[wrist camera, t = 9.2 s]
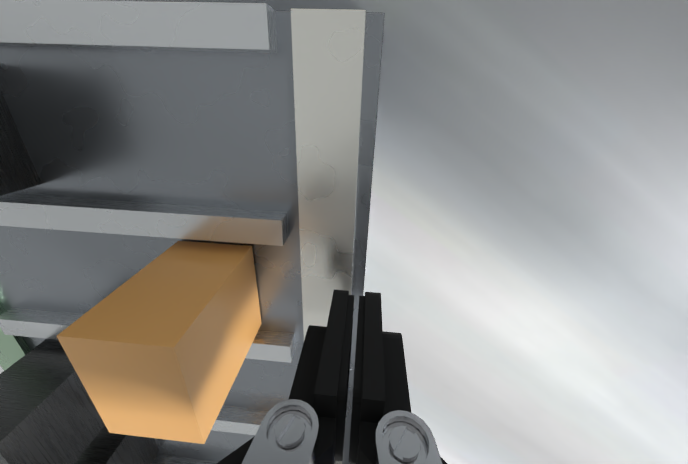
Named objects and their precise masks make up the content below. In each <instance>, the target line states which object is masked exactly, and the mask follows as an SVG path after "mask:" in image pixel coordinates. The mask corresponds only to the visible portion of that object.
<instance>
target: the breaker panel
mask: <svg viewBox="0 0 688 464" xmlns="http://www.w3.org/2000/svg"><path fill="white" fill-rule="evenodd" d="M383 26H384V13H369V12H366V10H352V9H295V8H291V11H275V10H274V9H273V8H271V7H270V6H269V5H268V4H267V3H227V2H167V1H106V0H0V365H1V367H2V368H3V369H4V372H2V373H1V374H0V464H216V463H218V462H219V461H221V460H222V459H223V458H225V457H226V456H228V455H229V454H230V453H232V452H233V451H235V450H236V449H237V448H239V447H240V446H242V445H243V444H244V443H246V442H247V441H249V440H250V439H251V438H253V437H254V436H255V435H256V433H257V431H258V429H259V427H260V425H261V422H262V420H263V419H264V417H265V416H266V414H267V413H268V411H269V410H270V409H271V408H273V407H274V406H275V405H276V404H278V403H280V402H282V401H285V400H288V399H289V395H290V392H291V388H292V384H293V381H294V377H295V373H296V369H297V366H298V362H299V358H300V355H301V351H302V347H303V344H304V340H305V336H306V332H307V329H308V326H309V325H313V326H324V327H327V323H328V317H329V312H330V307H331V302H332V296H333V291H334V289H335V290H347V291H349V295H354V312H353V329H352V346H351V361H350V373H349V386H348V398H347V411H346V423H345V436H344V448H343V460H342V461H335V464H350V462H349V446H350V430H351V414H352V398H353V383H354V367H355V351H356V337H357V322H358V307H359V296H363V290H364V276H365V263H366V250H367V237H368V224H369V211H370V198H371V184H372V171H373V158H374V145H375V132H376V119H377V105H378V92H379V79H380V66H381V53H382V40H383ZM177 241H190V242H204V243H218V244H231V245H245V246H252V250H253V258H254V266H255V274H256V282H257V290H258V298H259V306H260V314H261V323H262V324H261V326H260V328H259V330H258V332H257V334H256V336H255V338H254V341H253V343H252V345H251V347H250V349H249V351H248V353H247V355H246V357H245V360H244V362H243V364H242V366H241V368H240V370H239V372H238V374H237V376H236V379H235V381H234V383H233V385H232V387H231V389H230V391H229V393H228V395H227V397H226V400H225V402H224V404H223V406H222V408H221V410H220V412H219V414H218V416H217V419H216V421H215V423H214V425H213V427H212V429H211V431H210V433H209V435H208V437H207V440H206V442H205V444H199V443H190V442H182V441H174V440H165V439H157V438H149V437H140V436H132V435H123V434H115V433H109V431H108V429H107V427H106V426H105V424H104V422H103V420H102V418H101V417H100V415H99V413H98V411H97V409H96V407H95V406H94V404H93V402H92V400H91V398H90V397H89V395H88V393H87V391H86V389H85V387H84V386H83V384H82V382H81V380H80V378H79V377H78V375H77V373H76V371H75V369H74V367H73V366H72V364H71V362H70V360H69V358H68V356H67V355H66V353H65V351H64V349H63V347H62V346H61V344H60V342H59V340H58V338H57V335H58V334H59V333H61V332H62V331H63V330H65V329H66V328H67V327H68V326H70V325H71V324H72V323H73V322H75V321H76V320H77V319H79V318H80V317H81V316H82V315H84V314H85V313H86V312H88V311H89V310H90V309H91V308H93V307H94V306H95V305H97V304H98V303H99V302H100V301H102V300H103V299H104V298H106V297H107V296H108V295H109V294H111V293H112V292H113V291H115V290H116V289H117V288H118V287H120V286H121V285H122V284H124V283H125V282H126V281H127V280H129V279H130V278H131V277H132V276H134V275H135V274H136V273H138V272H139V271H140V270H141V269H143V268H144V267H145V266H147V265H148V264H149V263H150V262H152V261H153V260H154V259H156V258H157V257H158V256H159V255H161V254H162V253H163V252H165V251H166V250H167V249H168V248H170V247H171V246H172V245H174V244H175V243H176V242H177Z"/></svg>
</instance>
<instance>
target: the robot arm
mask: <svg viewBox="0 0 688 464" xmlns="http://www.w3.org/2000/svg"><path fill="white" fill-rule="evenodd" d="M353 312H354V295H349V291H347V290H335V289H334V291H333V296H332V302H331V307H330V312H329V317H328V323H327V327H324V326H313V325H309V326H308V329H307V332H306V336H305V340H304V344H303V347H302V351H301V355H300V358H299V362H298V366H297V369H296V373H295V377H294V381H293V384H292V388H291V392H290V395H289V399H288V400H285V401H282V402H280V403H278V404H276V405H275V406H274V407H273V408H271V409H270V410H269V411H268V413H267V414H266V416H265V417H264V419H263V420H262V422H261V425H260V427H259V429H258V431H257V433H256V435H255V436H254V437H253V438H251V439H250V440H249V441H247V442H246V443H244V444H243V445H242V446H240V447H239V448H237V449H236V450H235V451H233V452H232V453H230V454H229V455H228V456H226V457H225V458H223V459H222V460H221V461H219V462H218V463H216V464H335V461H342V460H343V448H344V436H345V423H346V411H347V398H348V386H349V373H350V361H351V346H352V329H353ZM349 462H351V463H356V464H447V463H446V462H445V461H444V460H443V459H442V458H441V457H440V454H439V451H438V448H437V445H436V442H435V439H434V436H433V434H432V432H431V430H430V428H429V427H428V426H427V424H426V423H425V422H424V421H423V420H422V419H421V418H419V417H418V416H417V415H415V414H413V413H411V407H410V399H409V390H408V382H407V374H406V366H405V357H404V349H403V341H402V335H401V333H393V332H382V312H381V293H373V292H365V296H359V307H358V322H357V337H356V351H355V367H354V383H353V398H352V414H351V430H350V446H349Z"/></svg>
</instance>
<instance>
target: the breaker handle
mask: <svg viewBox="0 0 688 464" xmlns="http://www.w3.org/2000/svg"><path fill="white" fill-rule="evenodd" d="M261 324H262V323H261V314H260V306H259V298H258V290H257V282H256V274H255V266H254V258H253V250H252V246H245V245H231V244H218V243H204V242H190V241H177V242H176V243H175V244H174V245H172V246H171V247H170V248H168V249H167V250H166V251H165V252H163V253H162V254H161V255H159V256H158V257H157V258H156V259H154V260H153V261H152V262H150V263H149V264H148V265H147V266H145V267H144V268H143V269H141V270H140V271H139V272H138V273H136V274H135V275H134V276H132V277H131V278H130V279H129V280H127V281H126V282H125V283H124V284H122V285H121V286H120V287H118V288H117V289H116V290H115V291H113V292H112V293H111V294H109V295H108V296H107V297H106V298H104V299H103V300H102V301H100V302H99V303H98V304H97V305H95V306H94V307H93V308H91V309H90V310H89V311H88V312H86V313H85V314H84V315H82V316H81V317H80V318H79V319H77V320H76V321H75V322H73V323H72V324H71V325H70V326H68V327H67V328H66V329H65V330H63V331H62V332H61V333H59V334H58V335H57V338H58V340H59V342H60V344H61V346H62V347H63V349H64V351H65V353H66V355H67V356H68V358H69V360H70V362H71V364H72V366H73V367H74V369H75V371H76V373H77V375H78V377H79V378H80V380H81V382H82V384H83V386H84V387H85V389H86V391H87V393H88V395H89V397H90V398H91V400H92V402H93V404H94V406H95V407H96V409H97V411H98V413H99V415H100V417H101V418H102V420H103V422H104V424H105V426H106V427H107V429H108V431H109V433H115V434H123V435H132V436H140V437H149V438H157V439H165V440H174V441H182V442H190V443H199V444H205V442H206V440H207V437H208V435H209V433H210V431H211V429H212V427H213V425H214V423H215V421H216V419H217V416H218V414H219V412H220V410H221V408H222V406H223V404H224V402H225V400H226V397H227V395H228V393H229V391H230V389H231V387H232V385H233V383H234V381H235V379H236V376H237V374H238V372H239V370H240V368H241V366H242V364H243V362H244V360H245V357H246V355H247V353H248V351H249V349H250V347H251V345H252V343H253V341H254V338H255V336H256V334H257V332H258V330H259V328H260V326H261Z"/></svg>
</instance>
